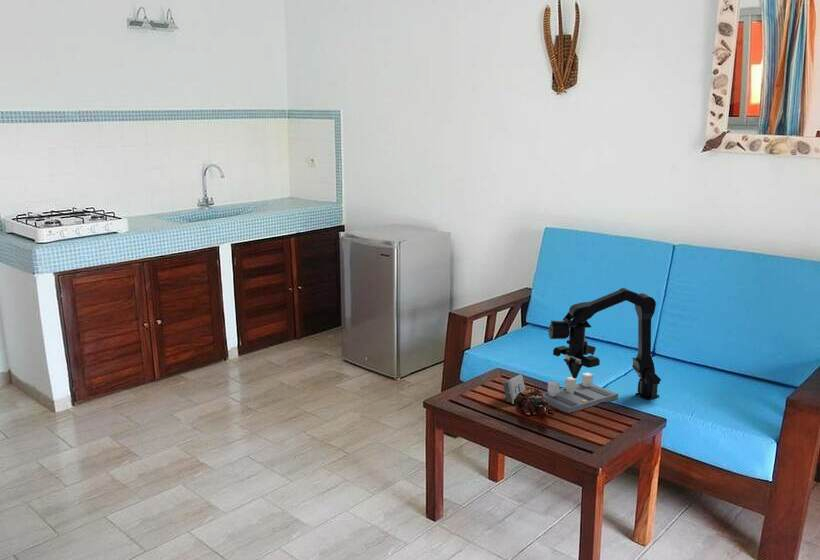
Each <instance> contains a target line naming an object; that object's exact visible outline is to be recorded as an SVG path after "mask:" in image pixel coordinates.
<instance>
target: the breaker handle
mask: <svg viewBox="0 0 820 560" xmlns="http://www.w3.org/2000/svg"><path fill="white" fill-rule="evenodd" d="M576 384H577V378H575V379H574V378H573V377H572V376H568V377H565V378H564V387H566V391H567V392H569V393H572V394H574V388H576Z"/></svg>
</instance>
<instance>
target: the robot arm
mask: <svg viewBox="0 0 820 560" xmlns="http://www.w3.org/2000/svg"><path fill="white" fill-rule="evenodd" d="M623 302H629V303H631V304H633V305H634V310H635V312H636V315H637V319H638V320H637V321H638V322H637V326H638V327H637V328H638V330H637V332H638V333H637V335H638V336H637V343H638V344H637V355H636V357H632V366H631V367H632V369H633V371H634V372H635V373H636V374H637V377H638V378H639V379H638V383H637V392H636V393H635V396H638V397H640V398H643V399H645V400H649V401H650V400H652V399H657V398H659V397H660V394H658V385H660V383H661V380H662V378H660V376H658V374H657V373H656V370H655V363H654V360H653V358H652V318H653V316H654V314H655V311H656V306H657V302H656V300H655V298H654V297H652V296H650V295H648V294H646V293H643V292H642V293H637V292H635V291H632V290H630V289H627V288H626V287H621V288H619V289H618V290H615V291H613V292H611V293H609V294H606V295H603V296H601V297H598V298H596V299H594V300H591V301H585V302H584V301H583V302H579V303H575V304H572V305H570V307H569V309H568V312H567V314H565V315H564V317H563V318H562V320H550V324H549V326H548V337H549V339H550V340H566V339H567V338H568V340H566V344H568V346H565V345H560V346H555V347H554V349H553V352H552V355H553V356H556V357H560V356H561V355H564V356H565V357H564V358H563V361H564V362H565V364H566V366H567V368H568V370H569V372H570V375H571V377H573V378H574V379H577V378H578V376H579V373H580V371H581V369H582V367H586V368H588V369H589V368H594V367H595V368H596V367H598V366H600V365H601V363H600V362H601V360H600V358H599V357H598V356H594V355H595V352H596V348H597V347H595V346H593V345H589V344H588V341H586V328H589V329H590V328H592V325H591V324H590V323H589V322H588V320H589V319H591V318H592V317H593V316H594V315H595V314H597V313H599V312H601V311H604V310H606V309H608V308H611V307H614V306H616V305H618V304H620V303H623ZM587 355H588V356H587Z"/></svg>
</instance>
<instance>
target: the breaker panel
mask: <svg viewBox="0 0 820 560" xmlns="http://www.w3.org/2000/svg"><path fill="white" fill-rule="evenodd" d="M541 394H542V395H543V398H544V399H545V401H546V402H547V403H548V404H547V405H549V406H551V407H553V408H555V409H558V410H560V411H561V412H564V413H566V412H567V413H566V414H568V413H569V414H572V413H571V412H573V413H575V411H576V412H579V411H582V409H583V410H585V408H586V409H589V408H592V406H593V407H596V406H598V405H597V404H599V403H600V402H606V403H609V402H612V401H616V400H619V394H618V393H616V392H614V391H611V390H610V389H606V388H604V387H601V386H599V385H596V384H594V374H593V373H590V372H588V371H587V372H584V373H581V382H579V383H576V388H574V394H572V393H569V392H567V391H566V387H565V386H564V387H561V388H560V383H559V382H558V381H553V380H552V381H549V382H547V392H543V393H541ZM595 405H596V406H595ZM599 405H600V404H599ZM588 407H589V408H588ZM578 410H579V411H578Z"/></svg>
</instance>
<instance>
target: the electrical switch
mask: <svg viewBox="0 0 820 560" xmlns="http://www.w3.org/2000/svg"><path fill="white" fill-rule="evenodd" d="M502 386H503V391H504V395H505V400H506V403H507V402H510V403H511V404H512V405H513V404H514V399H515V397H516V396H517V395H518V394H519V393H520V392H522V391H524V390H526V387H525V386H526V385H525V382H524V376H523V375H522V374H518V375H516V376H513V377H510V378H509V379H507V380H504V381H503V382H502ZM510 403H509V404H510Z"/></svg>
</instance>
